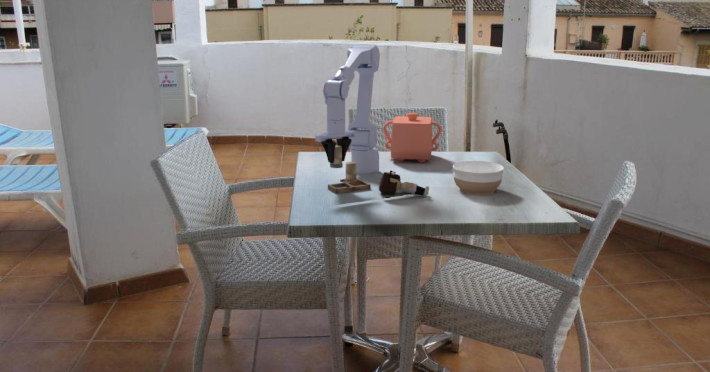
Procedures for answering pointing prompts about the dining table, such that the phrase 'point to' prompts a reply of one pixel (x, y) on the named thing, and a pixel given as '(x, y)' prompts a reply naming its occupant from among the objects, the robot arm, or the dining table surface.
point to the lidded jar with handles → (411, 137)
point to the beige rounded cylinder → (337, 158)
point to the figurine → (399, 185)
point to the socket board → (349, 187)
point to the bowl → (477, 177)
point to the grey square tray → (344, 180)
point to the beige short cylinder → (351, 171)
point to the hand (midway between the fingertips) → (336, 161)
